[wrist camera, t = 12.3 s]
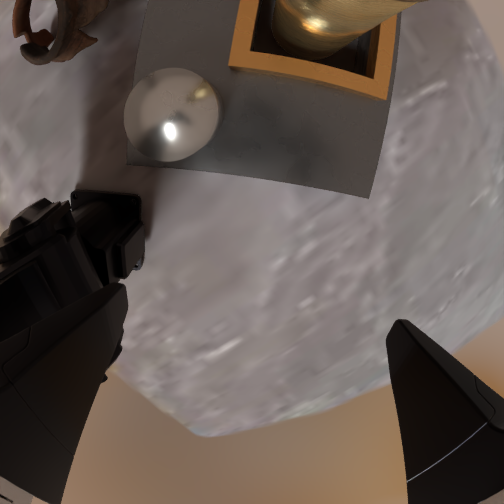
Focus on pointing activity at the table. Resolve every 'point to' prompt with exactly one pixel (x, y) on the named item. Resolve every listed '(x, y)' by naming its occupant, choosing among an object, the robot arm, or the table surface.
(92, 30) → the table surface
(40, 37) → the pottery mug
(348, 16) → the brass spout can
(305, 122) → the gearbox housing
